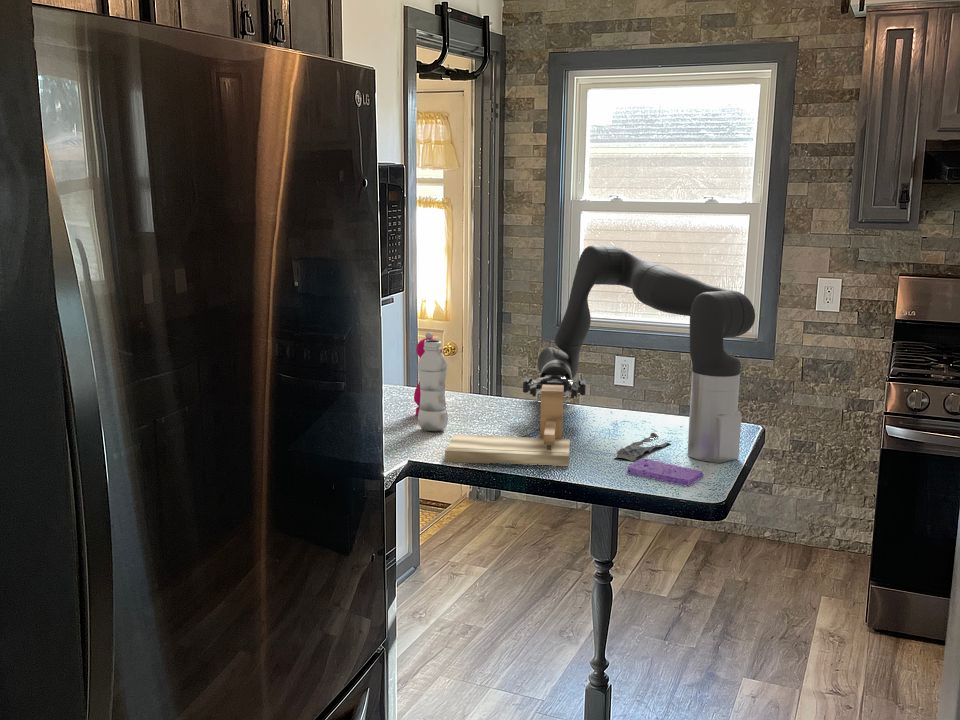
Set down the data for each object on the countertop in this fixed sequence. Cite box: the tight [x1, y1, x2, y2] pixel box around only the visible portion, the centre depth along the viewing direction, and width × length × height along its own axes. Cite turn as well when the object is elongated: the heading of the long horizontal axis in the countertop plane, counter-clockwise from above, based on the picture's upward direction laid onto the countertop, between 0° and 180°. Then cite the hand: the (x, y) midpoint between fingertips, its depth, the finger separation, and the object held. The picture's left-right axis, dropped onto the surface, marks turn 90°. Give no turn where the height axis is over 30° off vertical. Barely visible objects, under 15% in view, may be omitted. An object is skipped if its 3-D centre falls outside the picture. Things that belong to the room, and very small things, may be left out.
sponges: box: [626, 457, 704, 486], centre depth 163 cm, size 7×13×2 cm, turn 54°
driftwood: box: [615, 432, 672, 462], centre depth 181 cm, size 21×7×2 cm, turn 141°
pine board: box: [444, 434, 571, 467], centre depth 175 cm, size 12×24×2 cm, turn 83°
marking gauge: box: [539, 385, 565, 450], centre depth 177 cm, size 18×4×12 cm, turn 173°
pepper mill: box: [413, 331, 443, 418], centre depth 204 cm, size 7×7×20 cm
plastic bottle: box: [417, 339, 449, 432], centre depth 191 cm, size 6×7×20 cm
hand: (553, 393), depth 193 cm, fingers open, 8 cm apart
